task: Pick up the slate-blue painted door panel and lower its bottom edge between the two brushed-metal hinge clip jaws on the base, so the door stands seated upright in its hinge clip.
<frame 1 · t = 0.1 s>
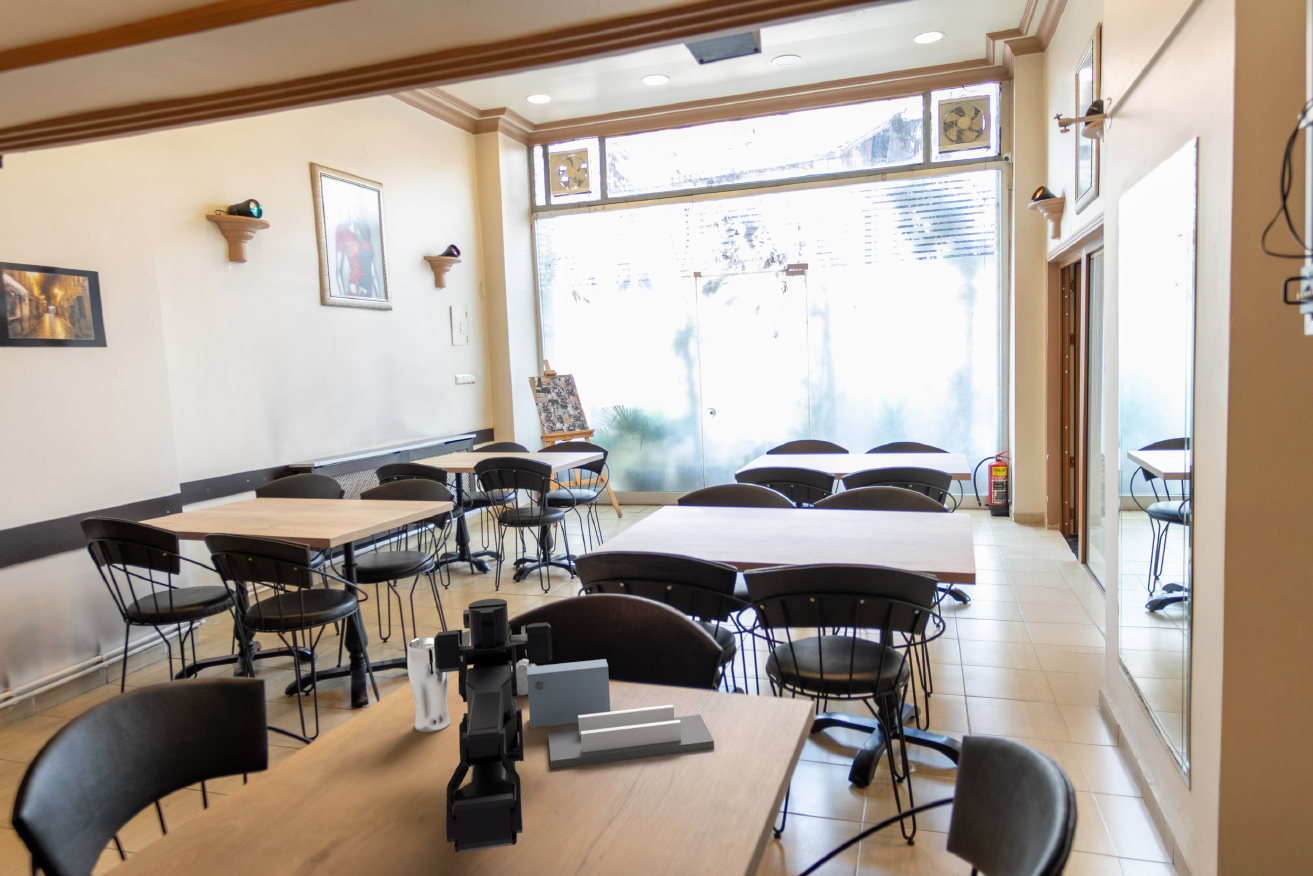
hand: (495, 631, 140), 17 cm above the table, tool horizontal, fingers open, 9 cm apart
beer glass: (432, 725, 142), on the table
hinge frame: (629, 743, 131), on the table
door: (570, 719, 142), on the table
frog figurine: (524, 695, 153), on the table
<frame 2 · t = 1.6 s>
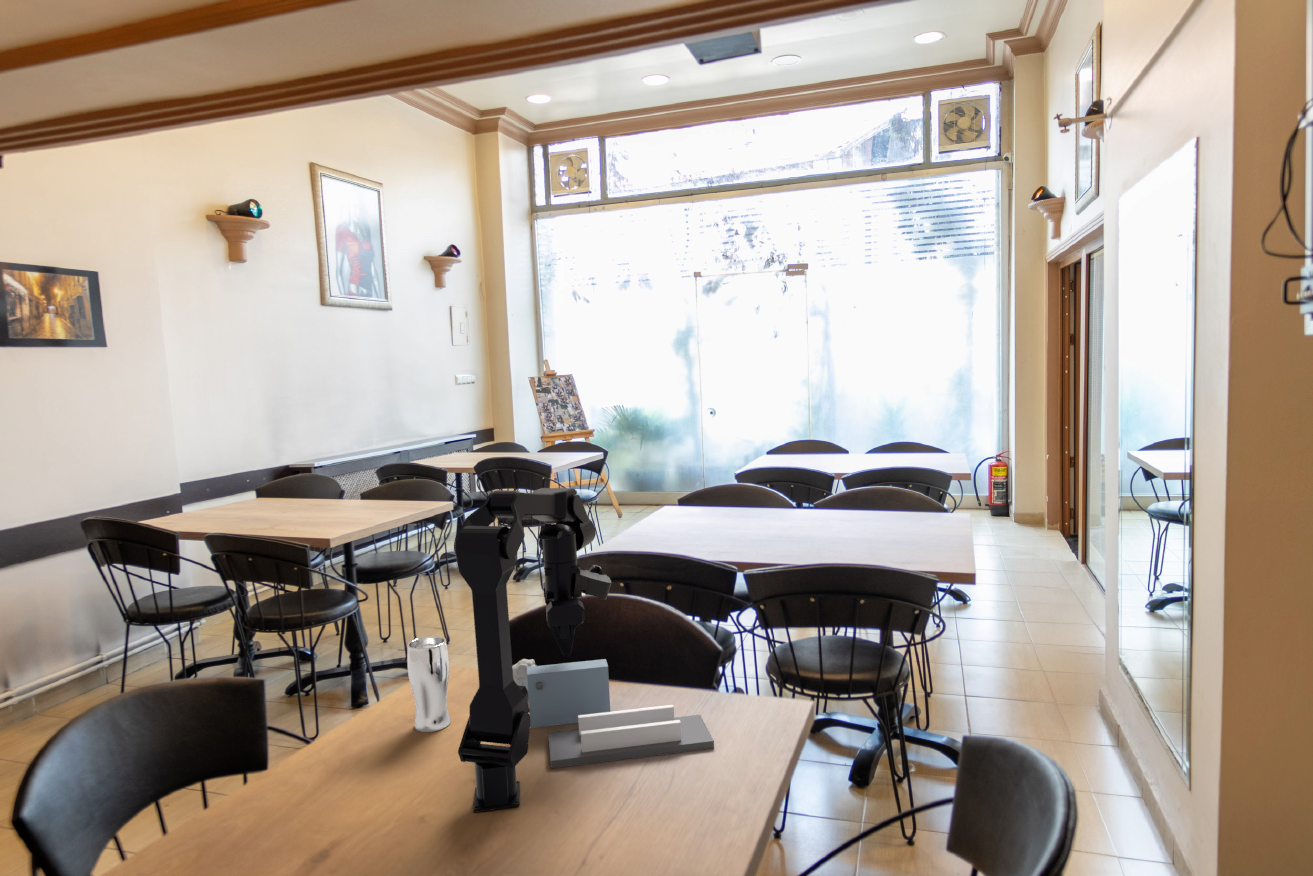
hand: (565, 646, 141), 13 cm above the table, tool pointing down, fingers open, 9 cm apart
nothing on the table moved.
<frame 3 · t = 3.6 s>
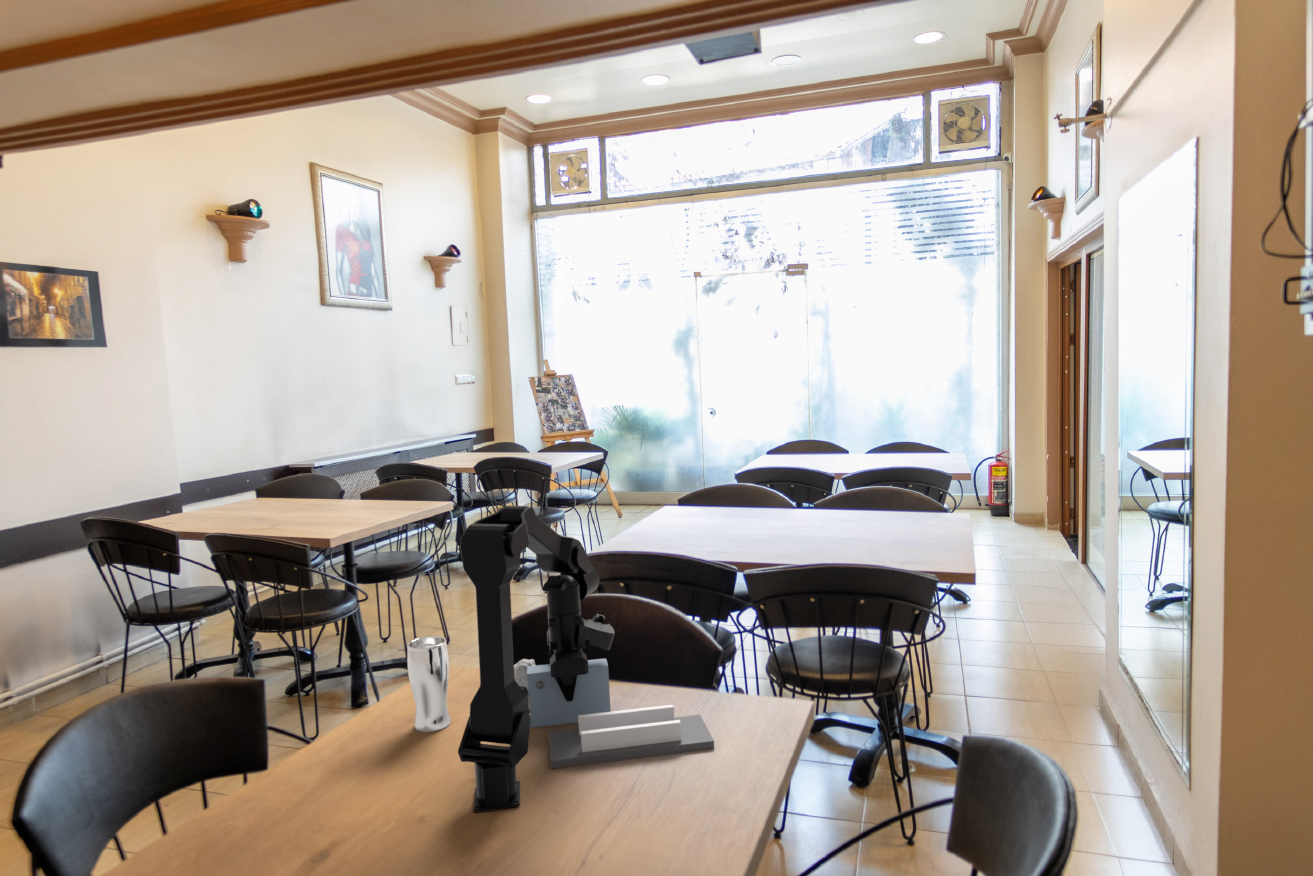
hand: (569, 696, 141), 4 cm above the table, tool pointing down, fingers closed on door, 4 cm apart
door: (570, 718, 142), on the table, touching gripper
everything else where it was.
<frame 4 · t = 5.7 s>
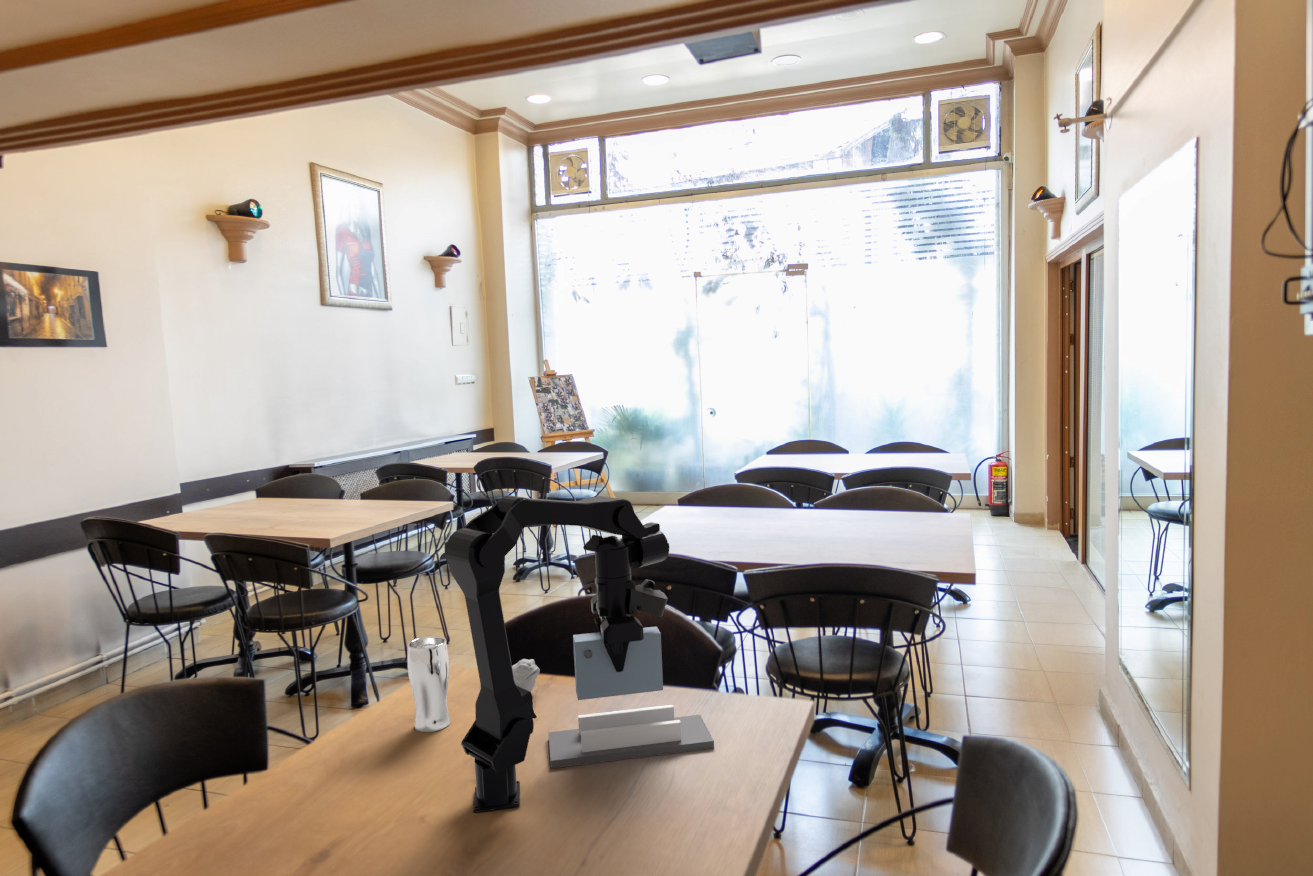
hand: (617, 667, 132), 12 cm above the table, tool pointing down, fingers closed on door, 4 cm apart
door: (619, 691, 132), point 8 cm above the table, touching gripper
everything else where it was.
when the fingers open (6 cm above the table, at t = 8.1 s): door stays where it is, resting on hinge frame.
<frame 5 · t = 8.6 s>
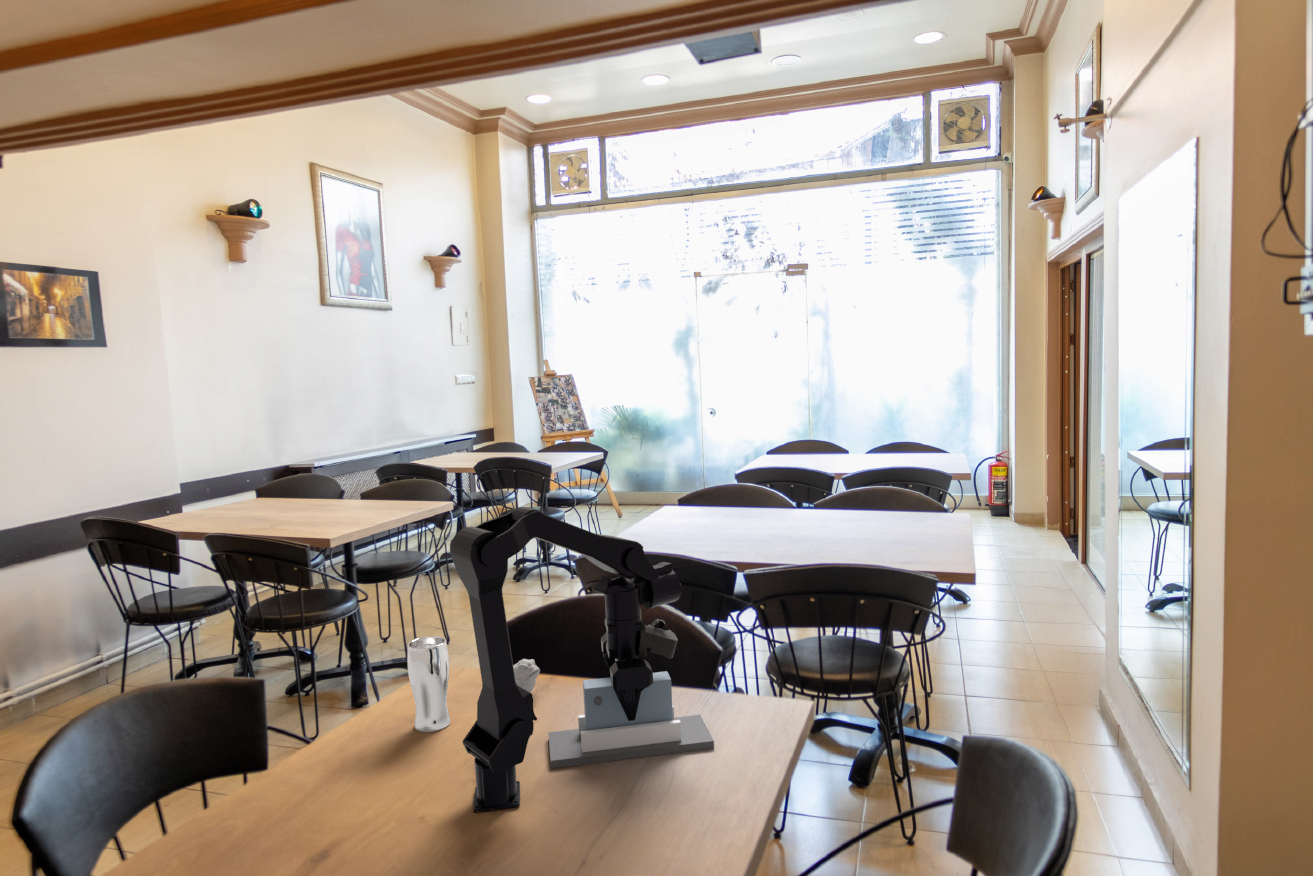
hand: (627, 708, 131), 6 cm above the table, tool pointing down, fingers open, 9 cm apart
door: (629, 736, 131), point 1 cm above the table, touching hinge frame
everything else where it was.
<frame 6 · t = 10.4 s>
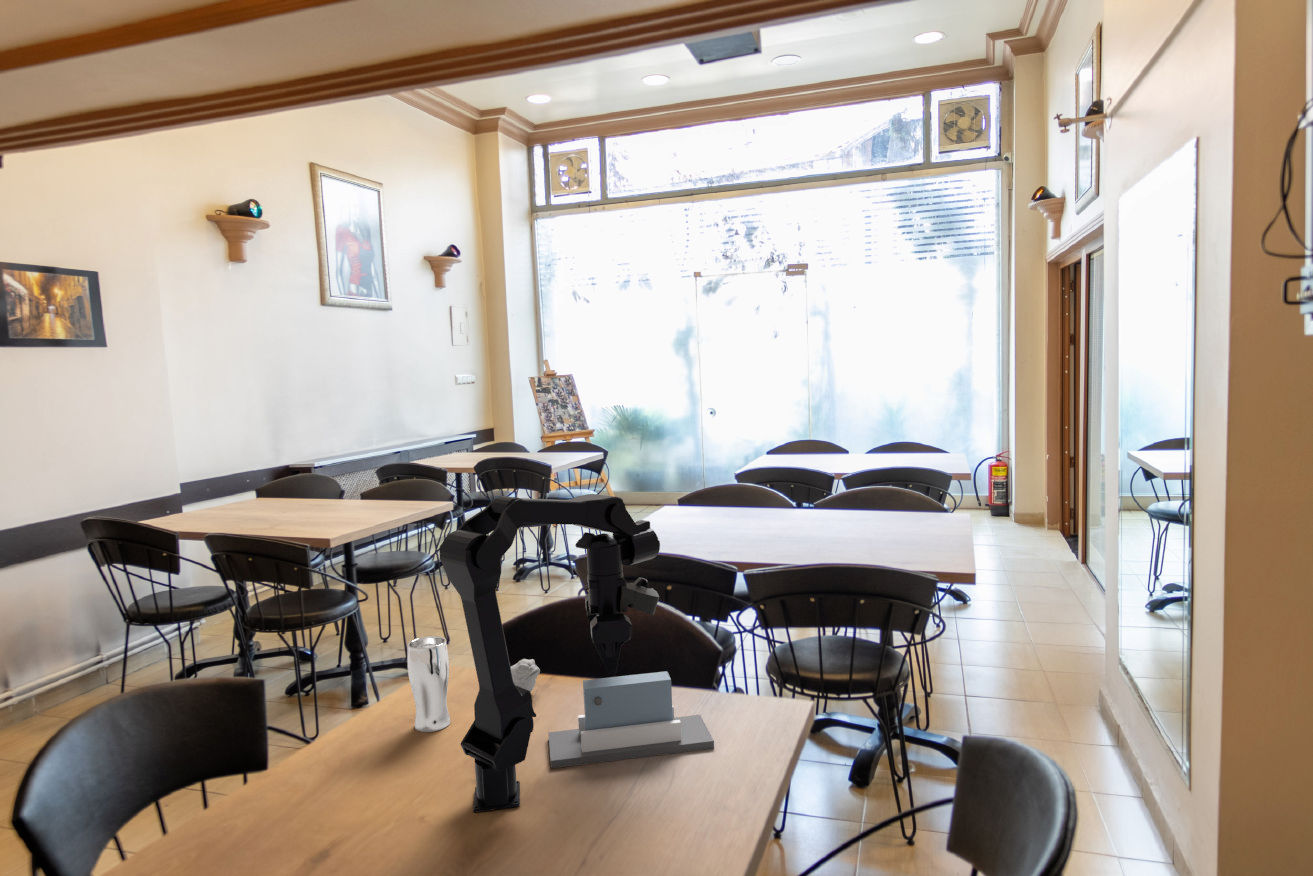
hand: (609, 664, 132), 13 cm above the table, tool pointing down, fingers open, 9 cm apart
nothing on the table moved.
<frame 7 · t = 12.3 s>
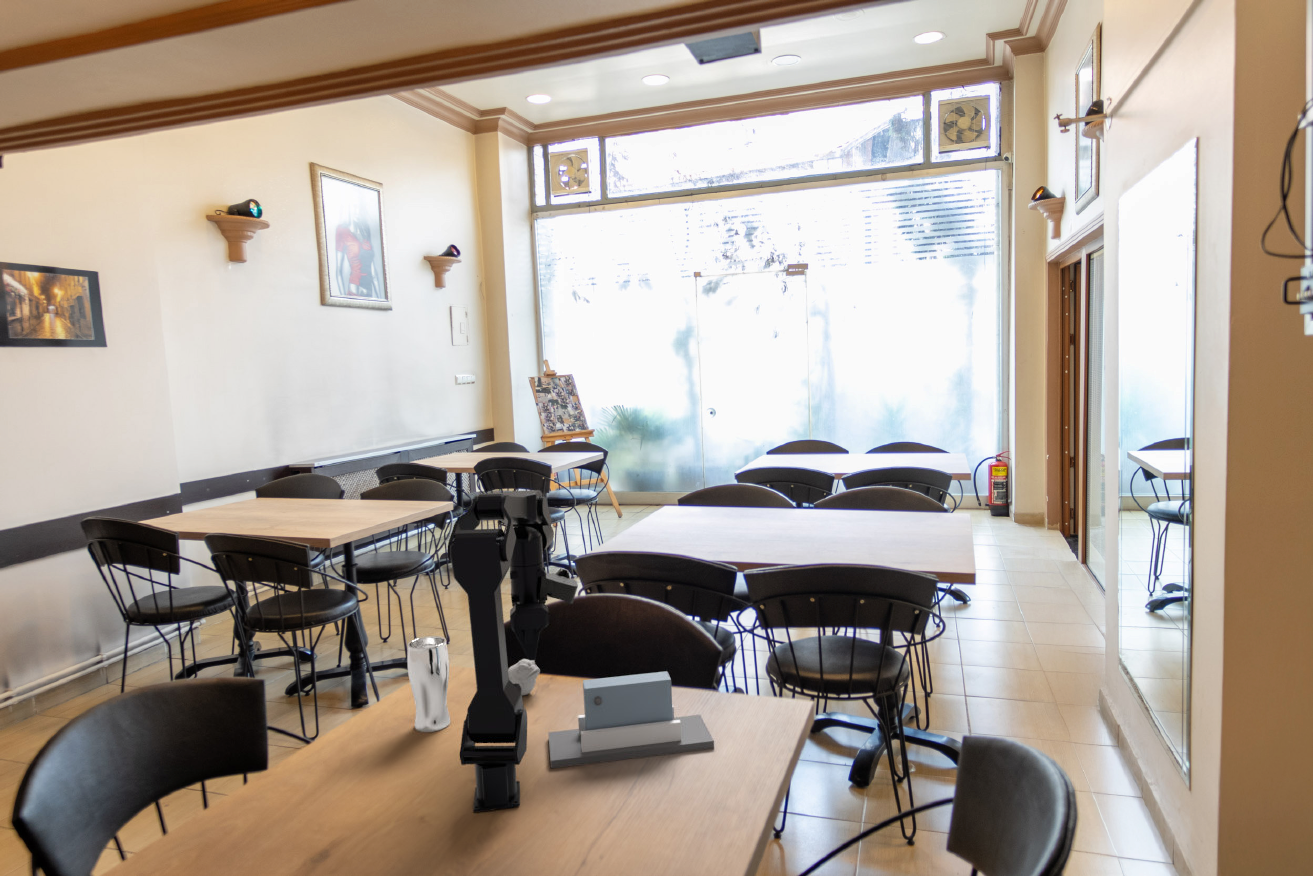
hand: (531, 650, 140), 13 cm above the table, tool pointing down, fingers open, 9 cm apart
nothing on the table moved.
at the end: door 0.1 cm off-centre on the hinge frame, point 1.2 cm above the hinge frame's base; door tilted 0°; the gripper is holding nothing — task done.
